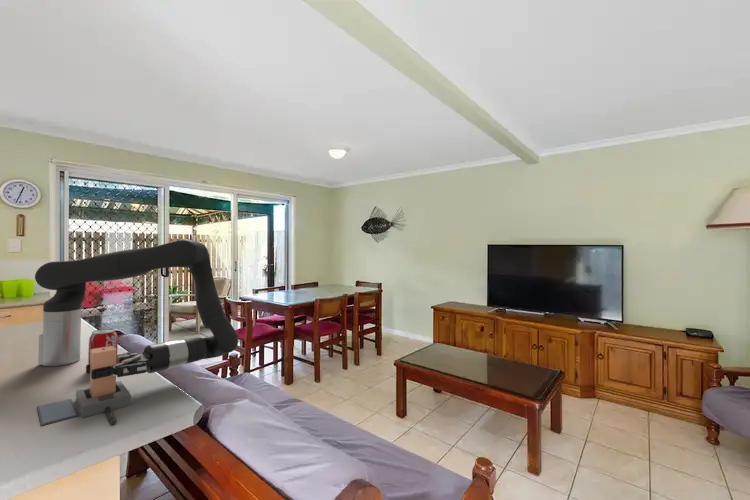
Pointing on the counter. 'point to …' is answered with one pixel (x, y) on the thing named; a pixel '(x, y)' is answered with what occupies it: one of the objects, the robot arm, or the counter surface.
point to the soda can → (102, 340)
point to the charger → (100, 360)
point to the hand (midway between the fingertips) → (89, 372)
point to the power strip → (103, 402)
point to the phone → (56, 412)
